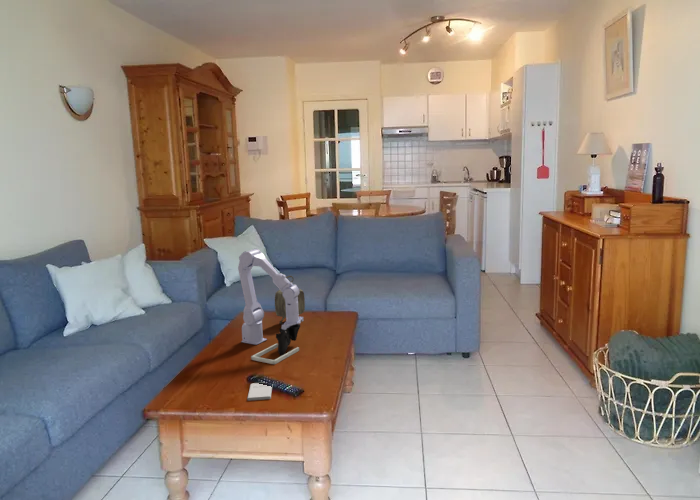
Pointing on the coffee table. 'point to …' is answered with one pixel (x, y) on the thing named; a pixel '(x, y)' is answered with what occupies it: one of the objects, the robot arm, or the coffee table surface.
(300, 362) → the coffee table surface
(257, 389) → the external hard drive
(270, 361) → the grey u-shaped bracket
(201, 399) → the coffee table surface
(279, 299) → the tabletop clock
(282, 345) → the gaming controller
